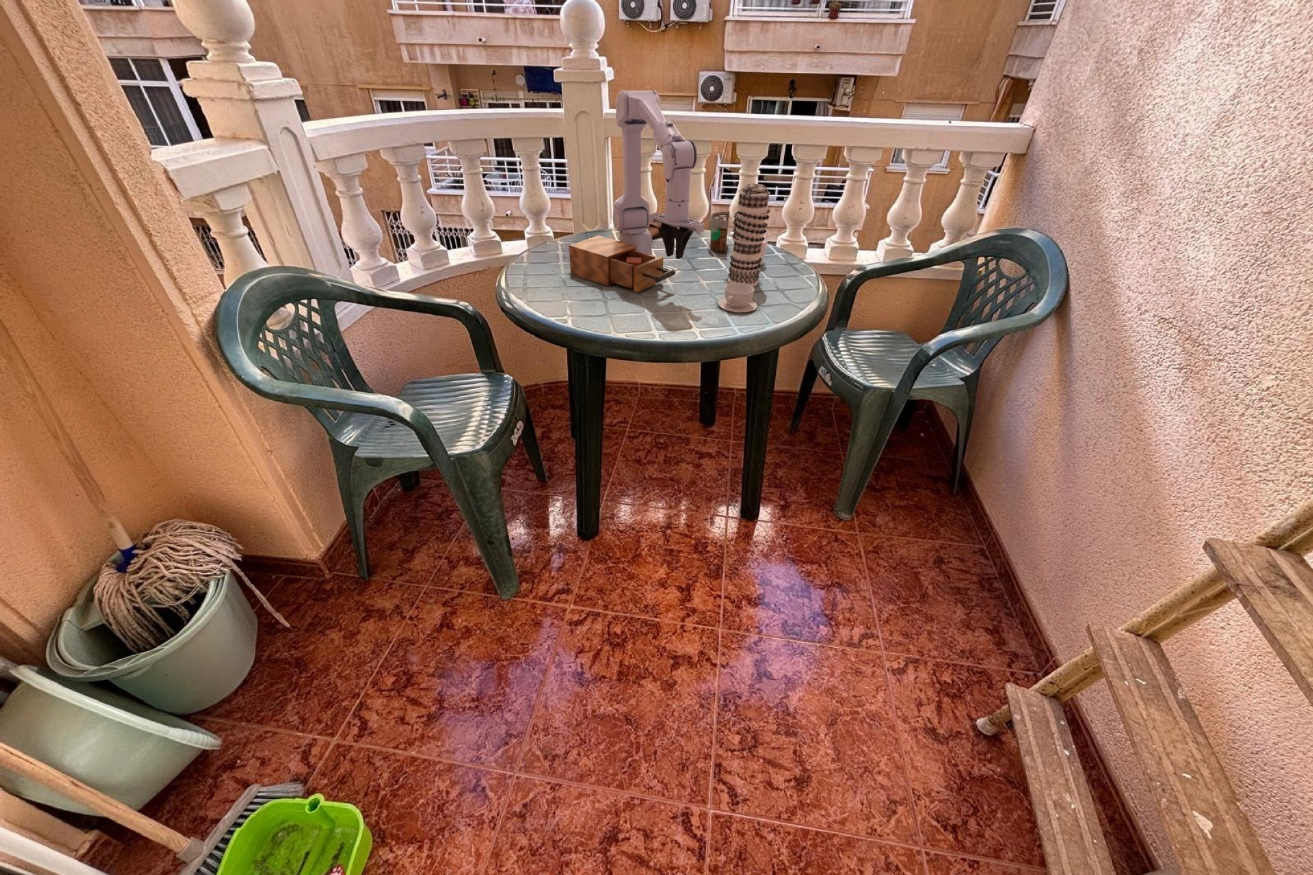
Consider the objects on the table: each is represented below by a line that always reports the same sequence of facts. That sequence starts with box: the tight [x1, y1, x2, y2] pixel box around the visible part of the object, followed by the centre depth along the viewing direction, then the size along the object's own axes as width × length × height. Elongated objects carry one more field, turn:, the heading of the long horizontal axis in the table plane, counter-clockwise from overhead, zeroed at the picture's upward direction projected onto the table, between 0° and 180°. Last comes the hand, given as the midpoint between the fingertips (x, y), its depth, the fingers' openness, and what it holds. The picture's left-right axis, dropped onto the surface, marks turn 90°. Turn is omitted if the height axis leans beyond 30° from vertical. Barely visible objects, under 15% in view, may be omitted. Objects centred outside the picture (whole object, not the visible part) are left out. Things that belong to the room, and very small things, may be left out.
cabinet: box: [568, 235, 637, 287], centre depth 149 cm, size 14×12×8 cm
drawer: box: [608, 250, 676, 293], centre depth 143 cm, size 19×11×6 cm, turn 52°
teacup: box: [717, 283, 758, 313], centre depth 134 cm, size 10×10×5 cm
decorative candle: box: [727, 183, 771, 288], centre depth 142 cm, size 9×9×25 cm
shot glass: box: [760, 238, 769, 266], centre depth 160 cm, size 7×7×7 cm
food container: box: [708, 211, 730, 254], centre depth 170 cm, size 12×6×10 cm, turn 172°
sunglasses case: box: [647, 222, 679, 240], centre depth 183 cm, size 18×7×7 cm, turn 140°
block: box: [626, 257, 642, 267], centre depth 143 cm, size 4×4×5 cm
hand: (674, 256), depth 133 cm, fingers closed
